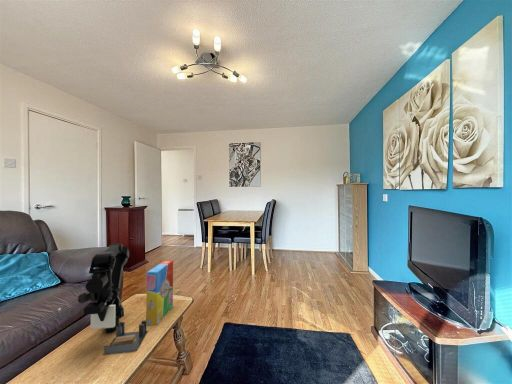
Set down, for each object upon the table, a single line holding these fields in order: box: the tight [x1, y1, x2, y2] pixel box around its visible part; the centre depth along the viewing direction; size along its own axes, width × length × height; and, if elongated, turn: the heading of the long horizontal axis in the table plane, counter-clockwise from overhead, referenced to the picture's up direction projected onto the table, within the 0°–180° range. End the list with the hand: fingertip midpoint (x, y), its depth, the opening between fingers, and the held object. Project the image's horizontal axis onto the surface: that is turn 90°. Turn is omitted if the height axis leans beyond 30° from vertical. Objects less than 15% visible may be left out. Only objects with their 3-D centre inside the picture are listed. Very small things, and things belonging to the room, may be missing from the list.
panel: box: [90, 305, 116, 330], centre depth 96 cm, size 1×9×9 cm, turn 99°
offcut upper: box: [113, 335, 135, 345], centre depth 95 cm, size 3×7×2 cm, turn 104°
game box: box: [145, 259, 174, 327], centre depth 121 cm, size 21×6×27 cm, turn 179°
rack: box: [102, 319, 149, 356], centre depth 98 cm, size 14×13×6 cm
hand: (103, 320), depth 96 cm, fingers closed on panel, 1 cm apart
